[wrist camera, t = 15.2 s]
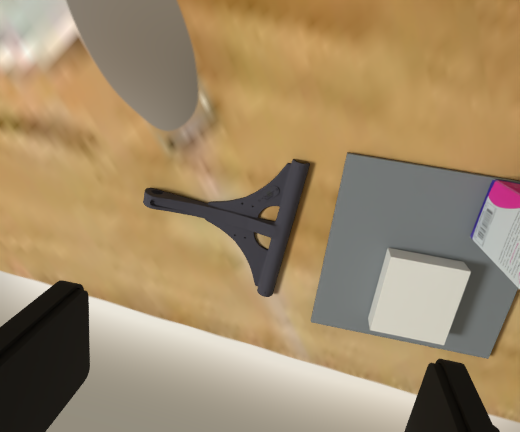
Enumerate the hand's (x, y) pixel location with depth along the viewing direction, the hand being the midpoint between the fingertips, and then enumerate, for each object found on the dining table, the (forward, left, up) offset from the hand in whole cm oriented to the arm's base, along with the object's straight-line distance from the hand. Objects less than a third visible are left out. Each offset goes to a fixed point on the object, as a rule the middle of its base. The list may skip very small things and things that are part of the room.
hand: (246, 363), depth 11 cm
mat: (+8, +13, -28) cm, 32 cm away
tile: (+7, +13, -27) cm, 30 cm away
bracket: (+7, -7, -29) cm, 31 cm away
